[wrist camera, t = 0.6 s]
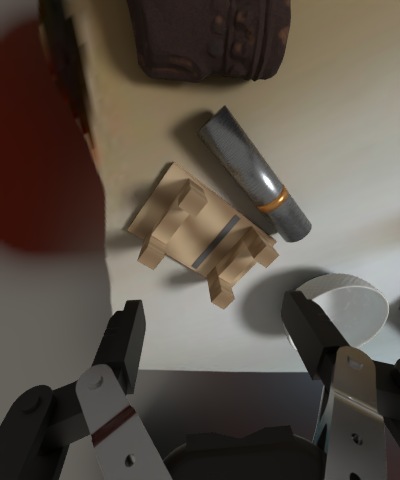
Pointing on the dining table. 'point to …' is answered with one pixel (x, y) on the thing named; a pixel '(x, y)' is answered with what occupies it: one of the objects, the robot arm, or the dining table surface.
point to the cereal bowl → (348, 306)
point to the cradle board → (200, 234)
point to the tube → (254, 175)
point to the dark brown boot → (210, 37)
